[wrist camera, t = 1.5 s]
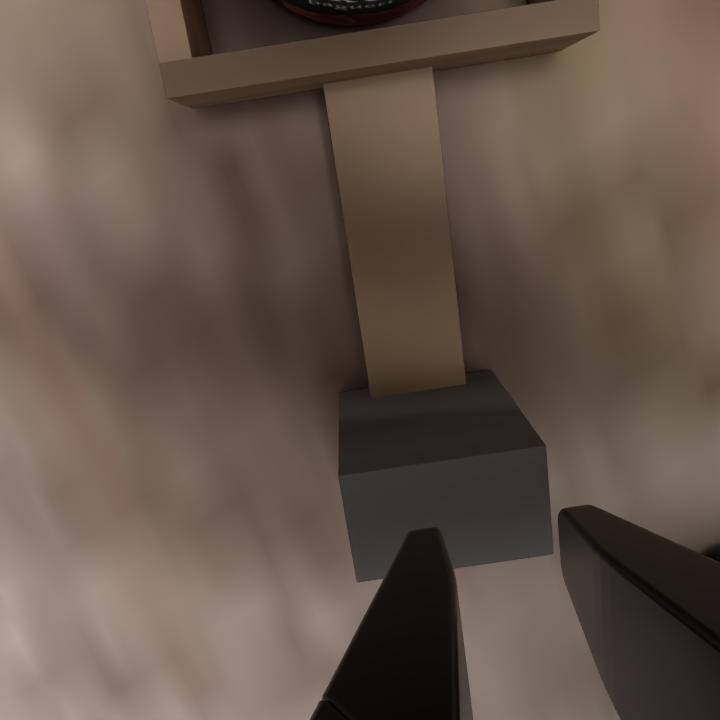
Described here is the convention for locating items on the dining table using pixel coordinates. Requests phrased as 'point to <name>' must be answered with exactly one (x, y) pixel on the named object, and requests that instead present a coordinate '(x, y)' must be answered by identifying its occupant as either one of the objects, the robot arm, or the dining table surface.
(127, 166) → the dining table surface
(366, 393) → the tan tray with handle
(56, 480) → the dining table surface
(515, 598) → the dining table surface
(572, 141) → the dining table surface
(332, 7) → the canned food
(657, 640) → the robot arm
